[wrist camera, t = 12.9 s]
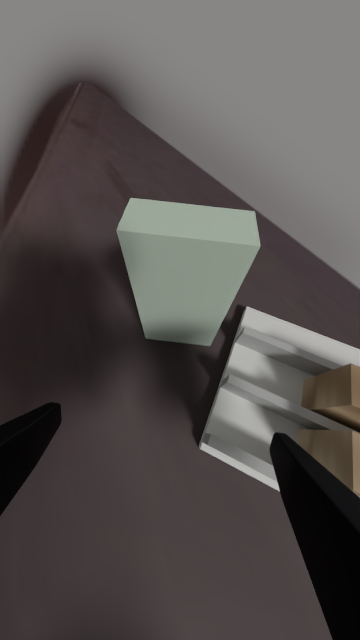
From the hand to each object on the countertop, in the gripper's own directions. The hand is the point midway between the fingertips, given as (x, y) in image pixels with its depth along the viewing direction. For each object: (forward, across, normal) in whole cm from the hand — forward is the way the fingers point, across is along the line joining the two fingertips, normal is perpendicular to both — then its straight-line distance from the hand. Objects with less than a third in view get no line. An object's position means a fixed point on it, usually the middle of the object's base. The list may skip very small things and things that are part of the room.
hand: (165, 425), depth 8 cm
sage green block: (+11, 0, -1) cm, 11 cm away
